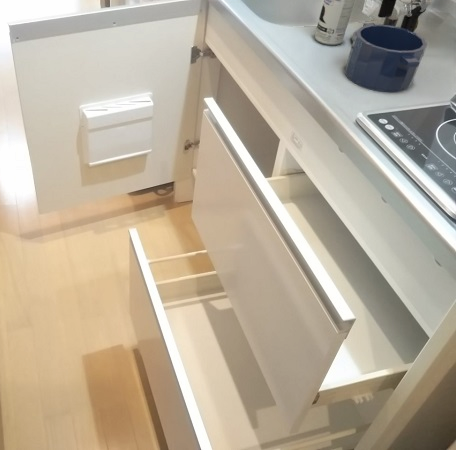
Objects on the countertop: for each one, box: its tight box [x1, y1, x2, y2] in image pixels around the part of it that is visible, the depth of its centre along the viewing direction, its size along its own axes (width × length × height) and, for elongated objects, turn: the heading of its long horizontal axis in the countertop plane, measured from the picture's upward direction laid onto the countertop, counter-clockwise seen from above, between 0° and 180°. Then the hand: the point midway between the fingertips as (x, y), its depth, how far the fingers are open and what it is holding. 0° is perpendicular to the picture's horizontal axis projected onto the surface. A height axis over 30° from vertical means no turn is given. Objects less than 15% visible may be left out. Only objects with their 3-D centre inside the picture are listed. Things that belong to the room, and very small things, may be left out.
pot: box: [344, 22, 428, 93], centre depth 108 cm, size 14×19×8 cm
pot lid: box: [351, 14, 399, 43], centre depth 120 cm, size 15×15×7 cm
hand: (394, 24), depth 120 cm, fingers open, 9 cm apart
